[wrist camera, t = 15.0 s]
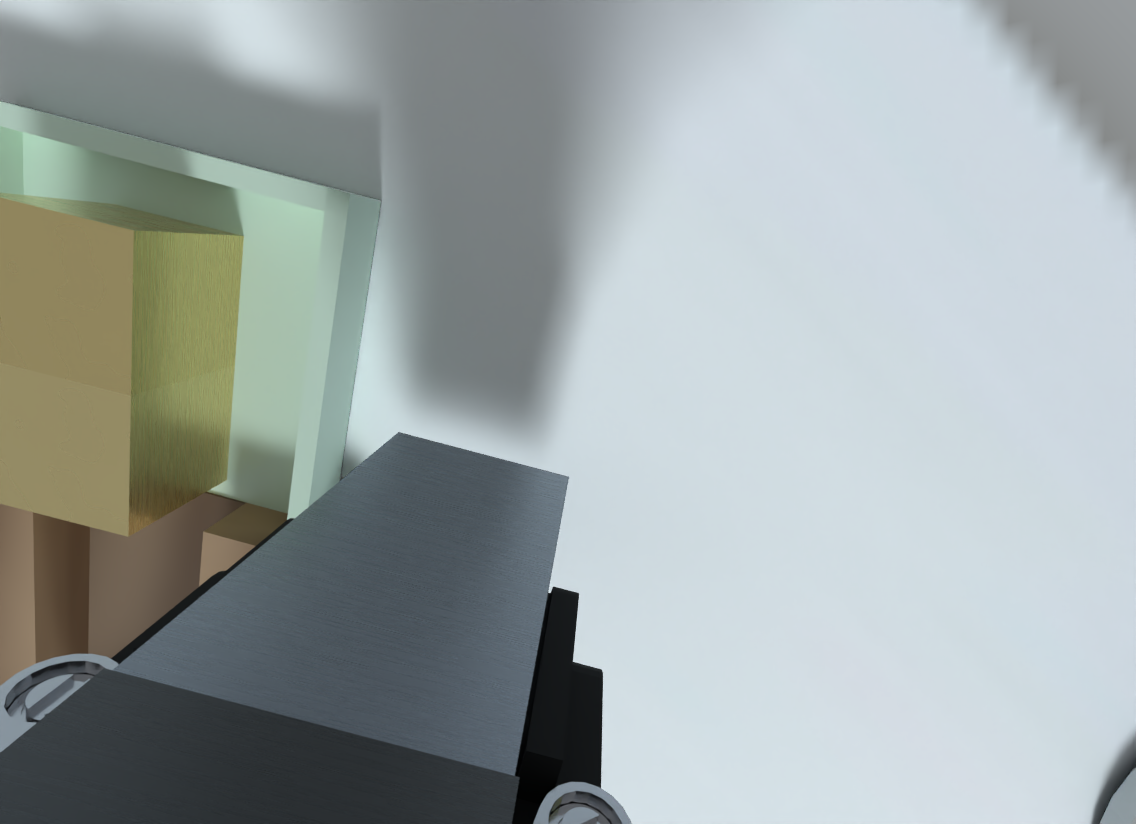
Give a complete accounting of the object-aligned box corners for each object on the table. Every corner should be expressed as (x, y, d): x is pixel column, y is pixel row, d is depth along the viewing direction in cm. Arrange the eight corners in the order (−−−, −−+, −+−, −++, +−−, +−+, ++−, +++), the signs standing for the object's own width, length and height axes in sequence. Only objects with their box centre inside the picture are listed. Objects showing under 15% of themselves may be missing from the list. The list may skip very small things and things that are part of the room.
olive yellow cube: (234, 365, 18) (130, 395, 14) (226, 479, 19) (128, 536, 15) (113, 334, 18) (-24, 356, 14) (112, 450, 19) (-15, 500, 15)
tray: (381, 200, 17) (349, 193, 15) (333, 520, 20) (302, 550, 18) (12, 103, 17) (-67, 84, 15) (20, 436, 20) (-45, 455, 18)
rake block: (571, 475, 14) (463, 1104, 4) (525, 643, 16) (350, 1454, 5) (396, 430, 14) (-214, 925, 4) (366, 601, 16) (-143, 1325, 5)
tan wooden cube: (244, 235, 17) (133, 230, 13) (234, 365, 18) (130, 395, 14) (114, 204, 17) (-34, 189, 13) (113, 334, 18) (-24, 356, 14)
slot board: (373, 531, 19) (340, 568, 17) (310, 897, 24) (278, 964, 22) (-19, 425, 20) (-103, 448, 17) (-2, 810, 25) (-66, 868, 22)
